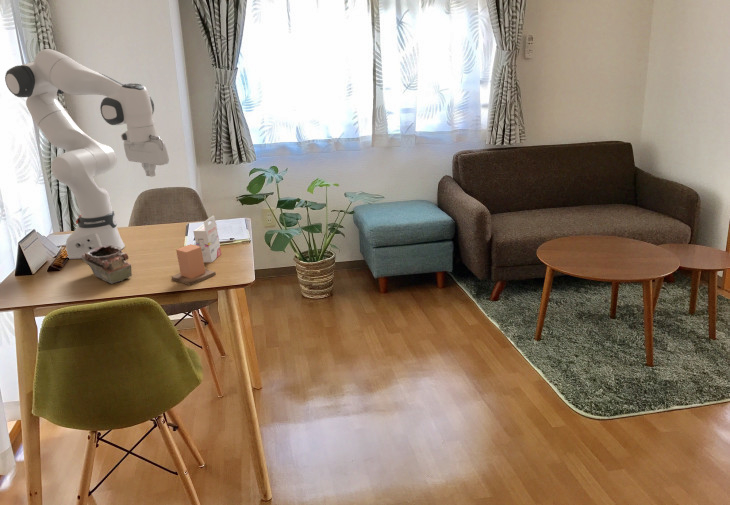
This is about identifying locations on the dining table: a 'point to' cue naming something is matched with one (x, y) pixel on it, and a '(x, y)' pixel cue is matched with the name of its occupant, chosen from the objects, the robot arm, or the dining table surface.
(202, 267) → the salmon pink toy brick
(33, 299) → the dining table surface
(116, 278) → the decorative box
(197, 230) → the ink cartridge box
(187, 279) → the post stand
